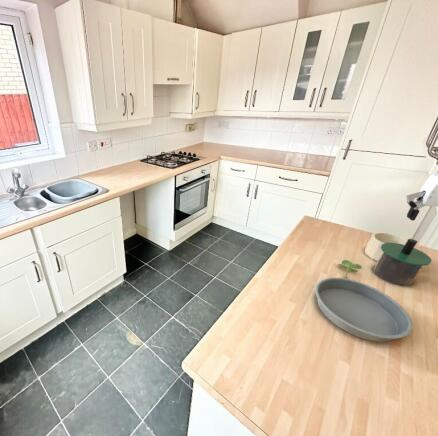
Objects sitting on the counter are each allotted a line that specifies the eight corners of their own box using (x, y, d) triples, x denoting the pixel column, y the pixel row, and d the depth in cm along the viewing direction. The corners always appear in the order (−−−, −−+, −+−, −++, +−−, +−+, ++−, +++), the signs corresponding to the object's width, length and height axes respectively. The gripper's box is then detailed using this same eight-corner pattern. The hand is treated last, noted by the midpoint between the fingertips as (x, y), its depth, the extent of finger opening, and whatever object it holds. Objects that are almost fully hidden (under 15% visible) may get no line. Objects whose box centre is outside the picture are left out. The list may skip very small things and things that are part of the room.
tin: (392, 250, 110) (401, 234, 106) (409, 267, 99) (420, 250, 95) (359, 245, 113) (367, 230, 109) (372, 262, 103) (381, 245, 99)
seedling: (340, 283, 99) (345, 270, 101) (362, 285, 91) (366, 270, 93) (328, 273, 98) (333, 260, 100) (349, 274, 91) (354, 259, 93)
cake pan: (404, 365, 65) (413, 355, 63) (303, 314, 80) (307, 304, 78) (406, 311, 81) (413, 301, 78) (320, 276, 96) (324, 267, 94)
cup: (400, 269, 99) (413, 249, 94) (418, 288, 89) (432, 267, 85) (368, 264, 102) (378, 244, 97) (381, 282, 92) (394, 261, 88)
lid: (415, 247, 95) (424, 233, 91) (440, 270, 83) (451, 254, 80) (373, 242, 98) (380, 228, 95) (391, 263, 87) (400, 248, 84)
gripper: (482, 170, 76) (452, 217, 84) (413, 167, 81) (391, 212, 89) (504, 178, 70) (469, 228, 78) (428, 174, 75) (402, 222, 83)
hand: (427, 220), depth 84 cm, fingers open, 9 cm apart
